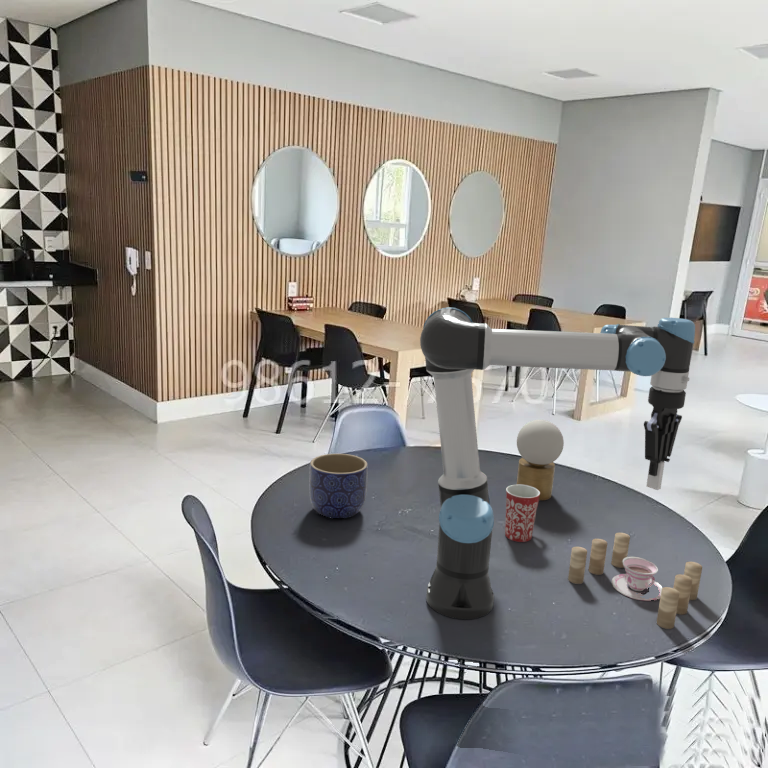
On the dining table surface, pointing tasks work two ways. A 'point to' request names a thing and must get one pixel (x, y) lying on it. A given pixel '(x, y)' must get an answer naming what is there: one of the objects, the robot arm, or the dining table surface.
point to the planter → (338, 484)
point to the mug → (520, 512)
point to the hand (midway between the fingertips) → (653, 487)
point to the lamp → (538, 455)
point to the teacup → (636, 578)
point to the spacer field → (670, 597)
